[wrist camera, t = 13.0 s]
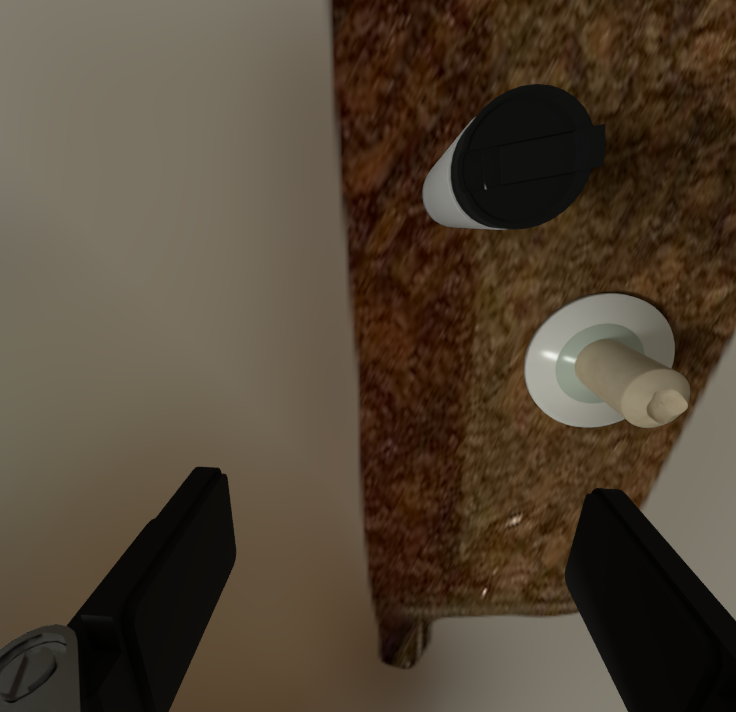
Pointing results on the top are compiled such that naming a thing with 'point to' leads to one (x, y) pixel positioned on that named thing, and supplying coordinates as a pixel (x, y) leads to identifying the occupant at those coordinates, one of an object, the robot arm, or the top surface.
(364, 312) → the top surface
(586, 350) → the candle
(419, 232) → the top surface
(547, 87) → the travel mug
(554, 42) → the top surface
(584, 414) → the ceramic plate
